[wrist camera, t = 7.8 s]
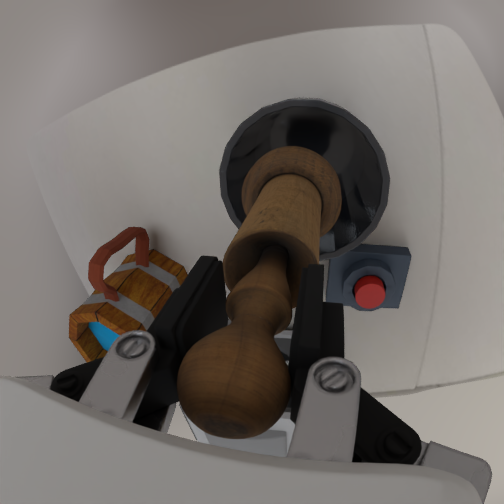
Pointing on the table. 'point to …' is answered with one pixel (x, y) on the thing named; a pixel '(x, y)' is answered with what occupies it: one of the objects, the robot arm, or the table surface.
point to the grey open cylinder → (326, 145)
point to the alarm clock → (269, 441)
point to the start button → (369, 292)
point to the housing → (368, 274)
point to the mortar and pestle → (260, 295)
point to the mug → (123, 294)
